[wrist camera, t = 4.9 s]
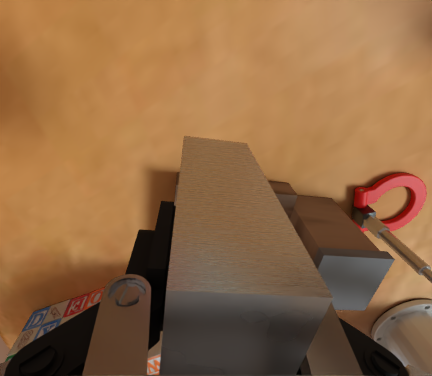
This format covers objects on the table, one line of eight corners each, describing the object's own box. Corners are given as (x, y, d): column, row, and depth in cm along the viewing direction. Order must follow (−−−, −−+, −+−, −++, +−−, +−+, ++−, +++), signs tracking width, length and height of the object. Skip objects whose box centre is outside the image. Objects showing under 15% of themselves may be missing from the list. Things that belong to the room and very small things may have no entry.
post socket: (314, 246, 36) (359, 318, 27) (171, 237, 34) (164, 314, 24) (338, 187, 32) (400, 248, 23) (177, 172, 30) (170, 233, 20)
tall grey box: (246, 143, 13) (333, 298, 5) (223, 255, 16) (253, 461, 8) (183, 135, 12) (166, 290, 4) (173, 252, 16) (151, 466, 8)
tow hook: (425, 164, 32) (351, 181, 32) (559, 227, 21) (447, 254, 21) (413, 220, 36) (347, 235, 36) (520, 298, 25) (426, 321, 25)
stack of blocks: (59, 335, 41) (12, 439, 30) (32, 310, 38) (-31, 416, 27) (189, 292, 39) (188, 387, 28) (170, 262, 36) (162, 356, 25)
